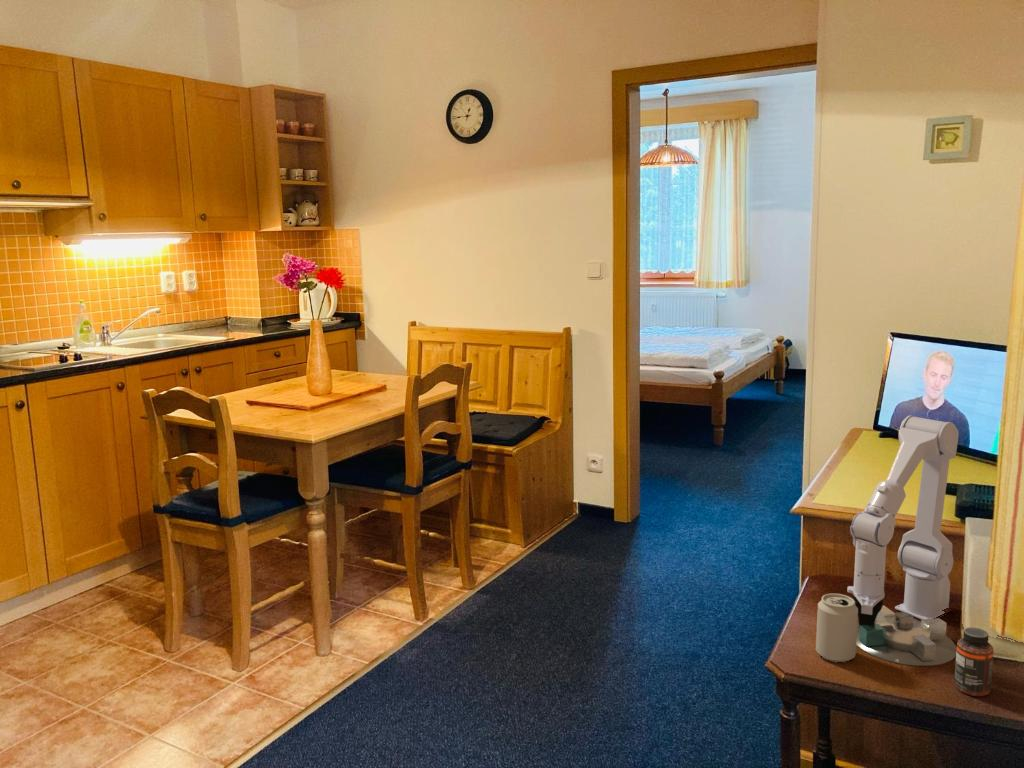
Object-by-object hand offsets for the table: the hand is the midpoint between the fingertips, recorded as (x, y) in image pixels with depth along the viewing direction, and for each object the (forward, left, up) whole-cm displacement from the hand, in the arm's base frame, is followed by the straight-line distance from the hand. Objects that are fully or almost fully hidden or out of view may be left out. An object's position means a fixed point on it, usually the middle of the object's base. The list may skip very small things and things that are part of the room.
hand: (866, 632), depth 175 cm
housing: (-5, +5, -2) cm, 7 cm away
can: (+11, +1, -2) cm, 11 cm away
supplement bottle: (+1, +23, -2) cm, 23 cm away
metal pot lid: (-5, +5, -2) cm, 7 cm away
